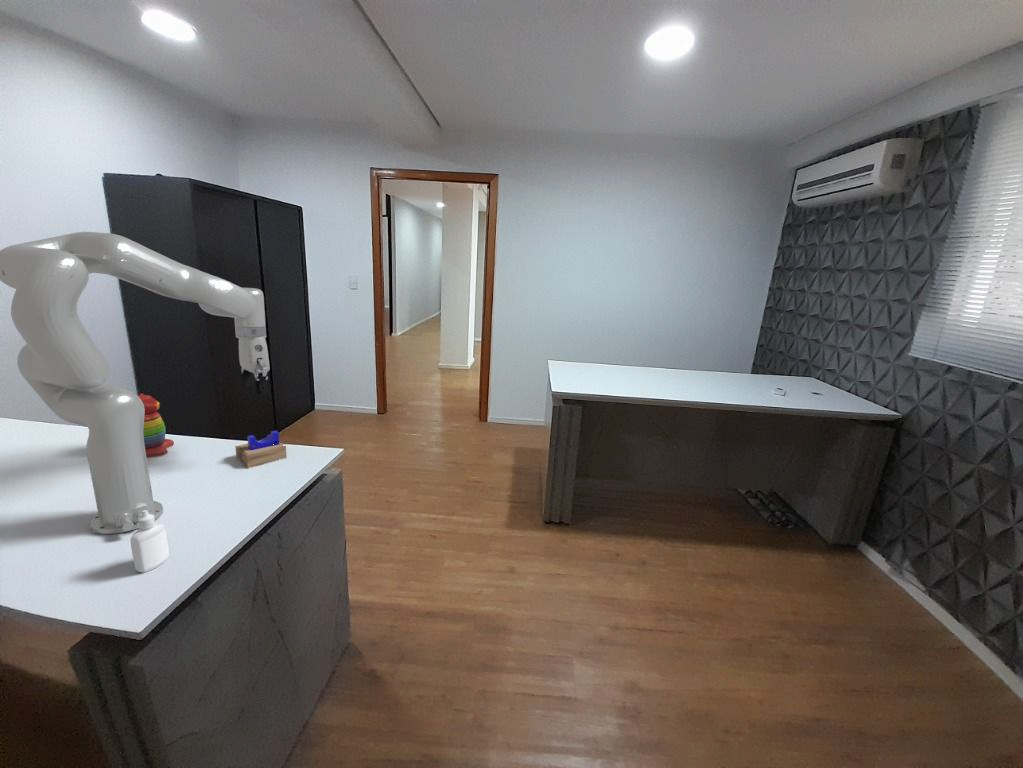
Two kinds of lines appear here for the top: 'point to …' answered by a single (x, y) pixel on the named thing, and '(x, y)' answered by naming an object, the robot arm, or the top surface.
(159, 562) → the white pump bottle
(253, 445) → the cable holder
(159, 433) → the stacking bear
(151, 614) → the top surface
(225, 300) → the robot arm
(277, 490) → the top surface
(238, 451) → the plinth
